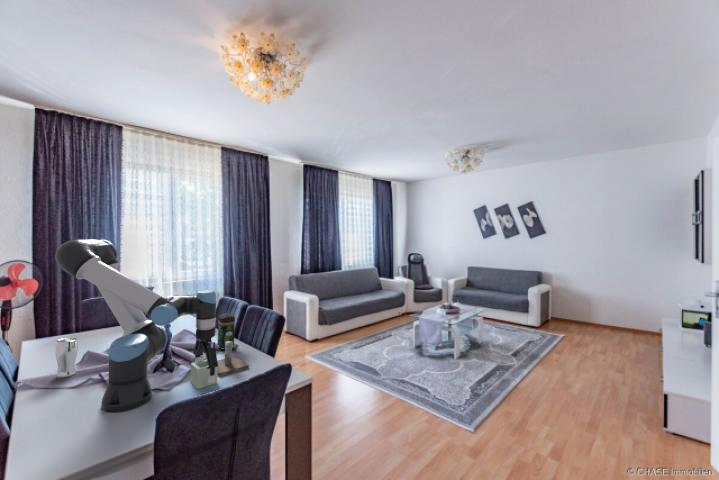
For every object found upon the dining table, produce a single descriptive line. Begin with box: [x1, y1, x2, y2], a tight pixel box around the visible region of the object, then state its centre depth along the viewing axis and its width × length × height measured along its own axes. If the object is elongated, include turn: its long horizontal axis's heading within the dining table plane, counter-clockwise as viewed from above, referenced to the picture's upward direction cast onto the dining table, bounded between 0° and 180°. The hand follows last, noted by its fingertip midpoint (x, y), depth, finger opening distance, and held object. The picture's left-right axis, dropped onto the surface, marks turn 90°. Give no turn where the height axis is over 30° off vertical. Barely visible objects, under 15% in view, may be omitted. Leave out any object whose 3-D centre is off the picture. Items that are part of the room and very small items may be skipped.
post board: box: [217, 341, 250, 378], centre depth 150 cm, size 14×14×12 cm
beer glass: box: [55, 336, 79, 379], centre depth 135 cm, size 7×7×15 cm
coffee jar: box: [217, 312, 236, 348], centre depth 174 cm, size 10×8×19 cm
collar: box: [189, 358, 218, 390], centre depth 134 cm, size 8×8×8 cm
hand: (204, 377), depth 134 cm, fingers open, 13 cm apart
